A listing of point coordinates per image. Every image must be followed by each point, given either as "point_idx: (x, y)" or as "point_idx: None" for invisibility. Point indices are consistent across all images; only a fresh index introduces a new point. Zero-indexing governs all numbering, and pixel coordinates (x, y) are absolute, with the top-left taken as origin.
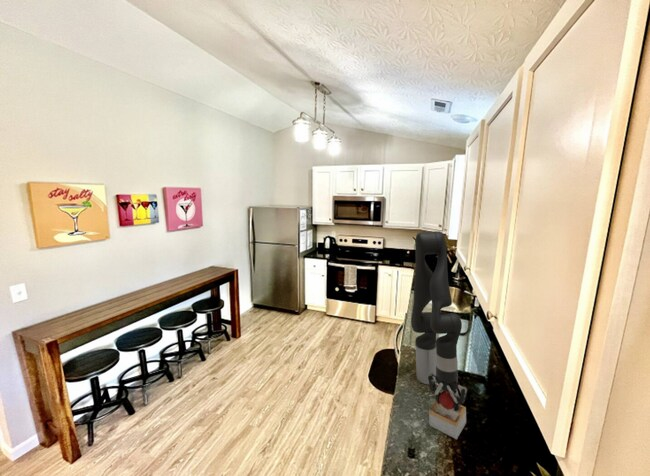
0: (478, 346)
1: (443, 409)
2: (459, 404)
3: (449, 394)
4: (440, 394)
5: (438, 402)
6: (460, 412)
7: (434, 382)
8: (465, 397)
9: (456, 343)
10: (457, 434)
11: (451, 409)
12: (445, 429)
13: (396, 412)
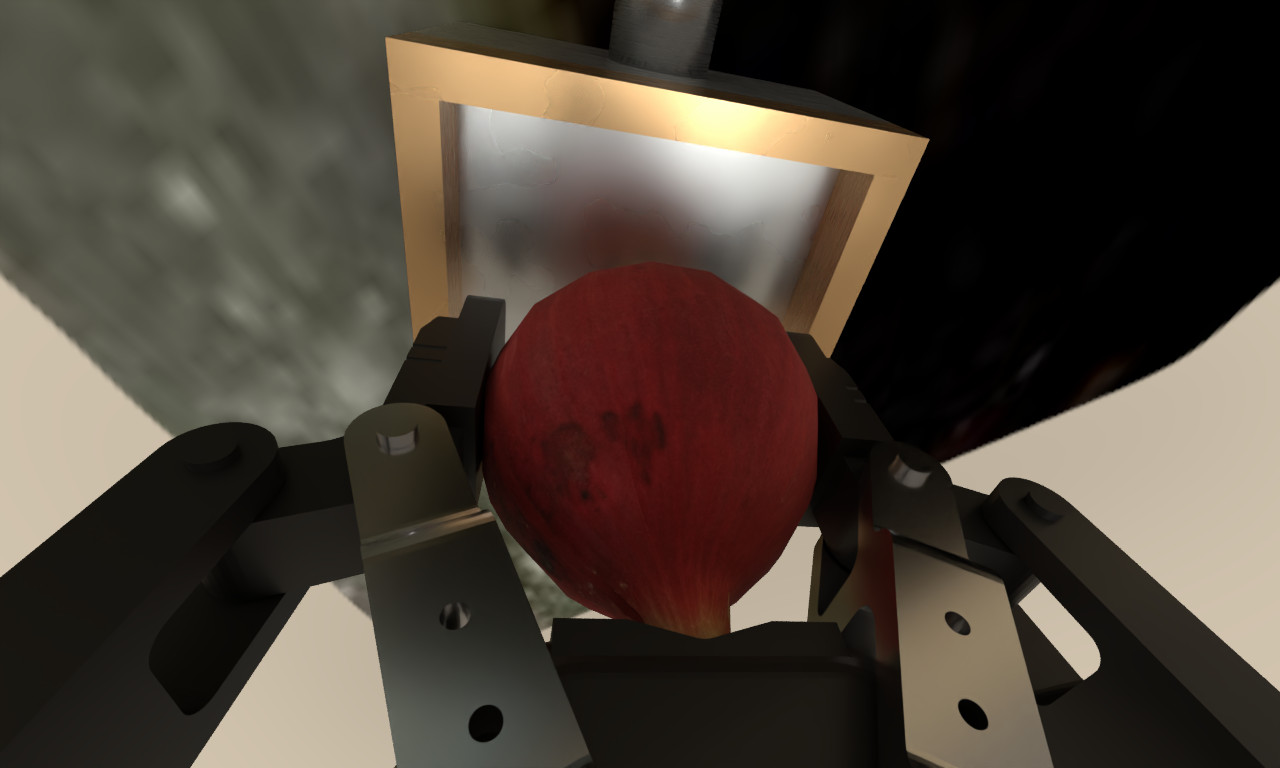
0: None
1: (565, 278)
2: (873, 427)
3: (733, 598)
4: (508, 527)
5: None
6: (823, 313)
7: (124, 668)
8: (1132, 576)
9: None
10: None
11: (672, 216)
12: None
13: (91, 356)
